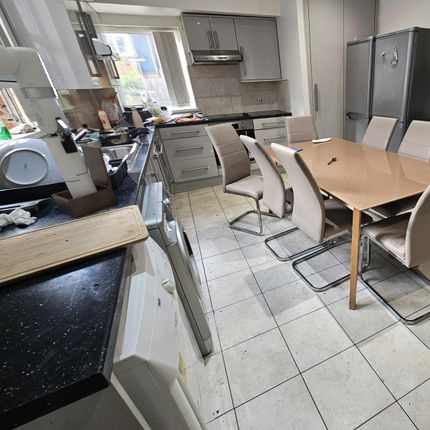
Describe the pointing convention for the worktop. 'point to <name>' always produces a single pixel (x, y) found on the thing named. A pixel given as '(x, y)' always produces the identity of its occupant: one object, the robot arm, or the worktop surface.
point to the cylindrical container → (71, 168)
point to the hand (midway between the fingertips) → (66, 151)
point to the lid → (96, 164)
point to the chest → (85, 201)
